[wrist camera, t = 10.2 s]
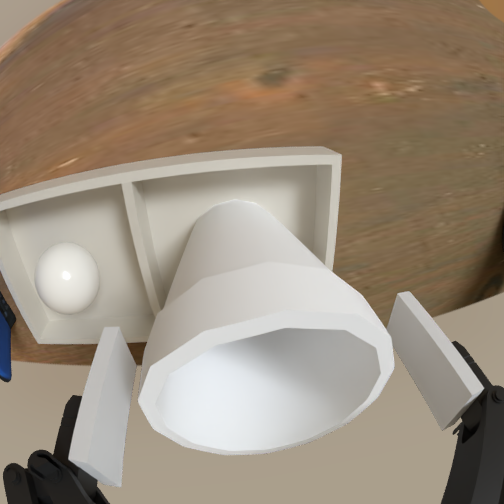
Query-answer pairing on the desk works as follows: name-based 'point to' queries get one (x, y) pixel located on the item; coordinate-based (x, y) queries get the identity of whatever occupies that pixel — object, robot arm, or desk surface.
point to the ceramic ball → (67, 278)
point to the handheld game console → (5, 339)
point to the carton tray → (154, 227)
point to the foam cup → (258, 341)
